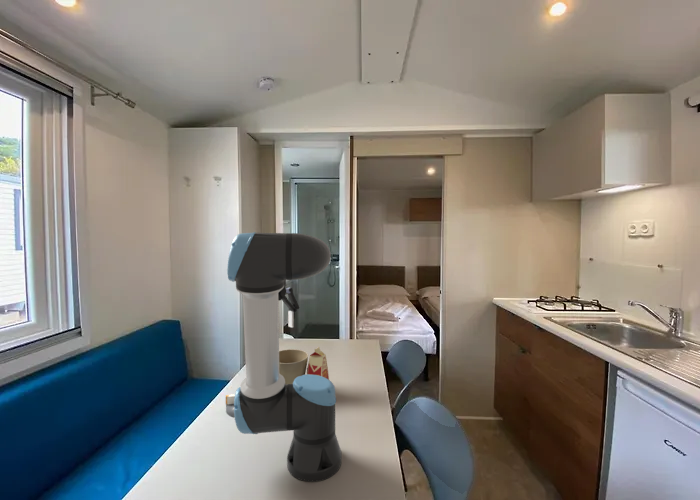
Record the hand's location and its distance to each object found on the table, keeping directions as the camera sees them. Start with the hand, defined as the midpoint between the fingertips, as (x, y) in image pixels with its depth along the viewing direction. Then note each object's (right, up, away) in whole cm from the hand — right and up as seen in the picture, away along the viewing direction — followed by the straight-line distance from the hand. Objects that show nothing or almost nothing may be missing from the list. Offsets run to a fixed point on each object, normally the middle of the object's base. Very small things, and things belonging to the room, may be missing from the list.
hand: (276, 330), depth 129 cm
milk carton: (+16, -26, -1) cm, 31 cm away
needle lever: (-12, -24, -10) cm, 28 cm away
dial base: (-9, -26, -10) cm, 29 cm away
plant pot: (+5, -26, 0) cm, 27 cm away
